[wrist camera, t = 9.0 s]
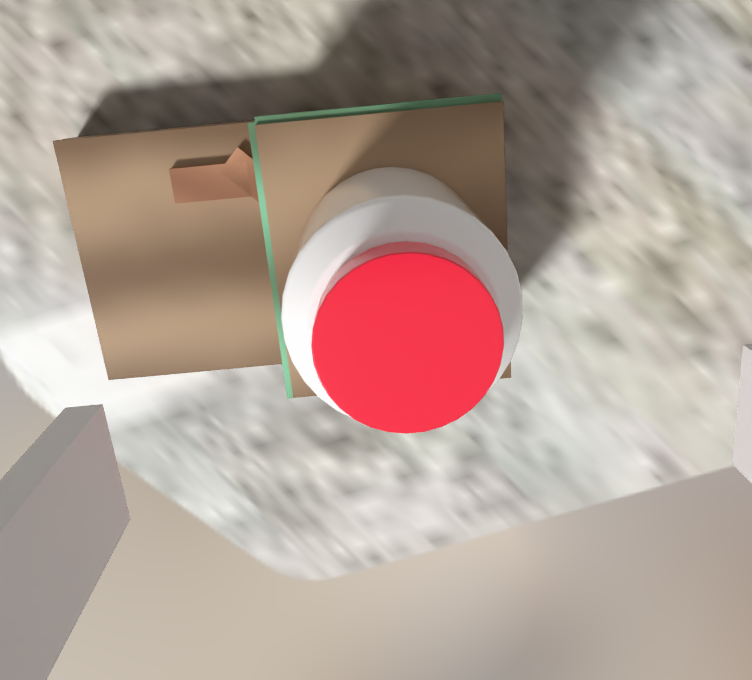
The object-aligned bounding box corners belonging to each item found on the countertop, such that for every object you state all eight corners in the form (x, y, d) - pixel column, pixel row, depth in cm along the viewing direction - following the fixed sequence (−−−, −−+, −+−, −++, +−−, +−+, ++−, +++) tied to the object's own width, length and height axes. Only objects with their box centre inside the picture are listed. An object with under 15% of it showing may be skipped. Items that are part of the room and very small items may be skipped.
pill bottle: (322, 358, 32) (305, 488, 21) (281, 186, 29) (239, 240, 19) (492, 325, 32) (558, 442, 21) (466, 149, 29) (527, 183, 19)
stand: (75, 131, 35) (5, 141, 28) (473, 92, 35) (502, 93, 28) (126, 360, 40) (76, 419, 33) (483, 327, 39) (511, 379, 32)
